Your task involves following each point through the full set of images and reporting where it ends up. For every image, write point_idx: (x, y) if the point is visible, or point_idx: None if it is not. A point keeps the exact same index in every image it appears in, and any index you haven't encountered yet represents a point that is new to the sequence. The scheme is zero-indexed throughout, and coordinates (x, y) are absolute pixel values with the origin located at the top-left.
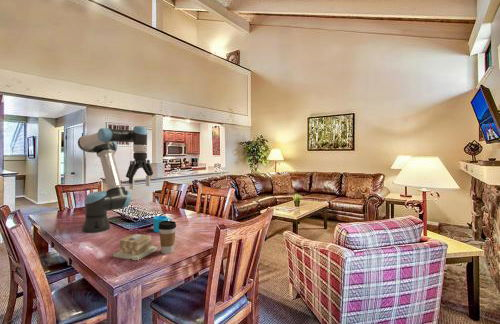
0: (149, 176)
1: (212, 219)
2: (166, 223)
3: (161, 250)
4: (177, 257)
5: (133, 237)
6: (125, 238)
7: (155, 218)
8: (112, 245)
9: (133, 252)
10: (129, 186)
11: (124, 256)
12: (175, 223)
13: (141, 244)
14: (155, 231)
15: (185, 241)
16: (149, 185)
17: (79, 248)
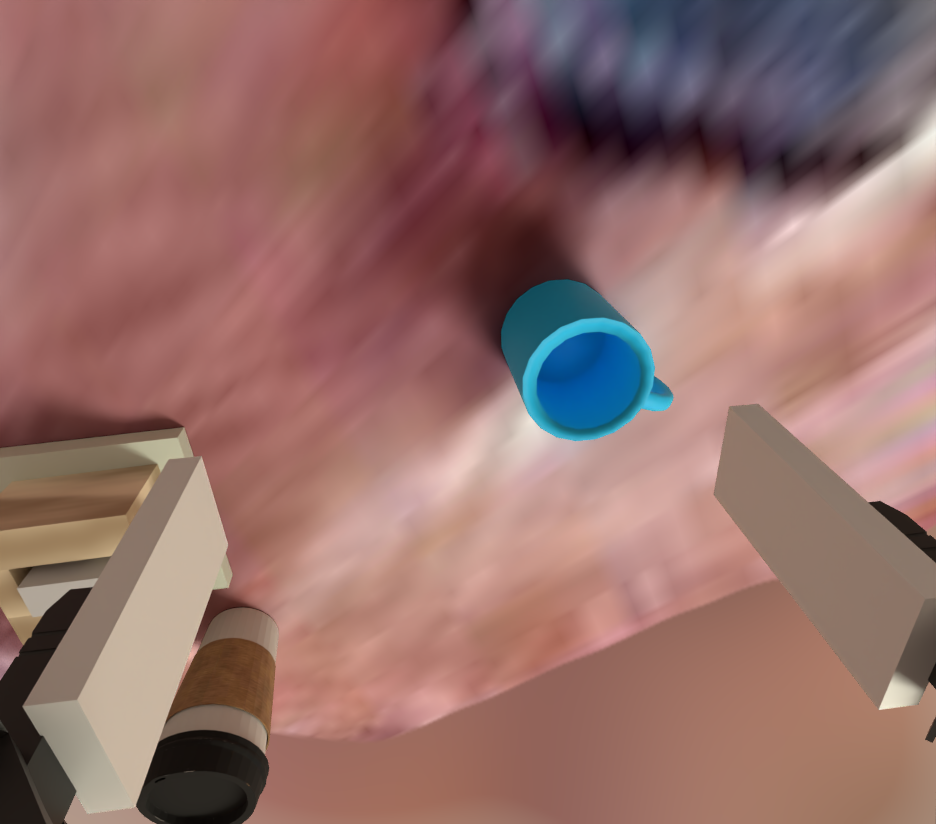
0: (866, 691)
1: (920, 506)
2: (205, 783)
3: (205, 634)
4: None
5: (33, 606)
6: (10, 540)
7: (540, 366)
8: (87, 268)
9: None
10: (146, 497)
11: None
12: (236, 822)
13: None
14: (501, 334)
15: (420, 616)
16: (725, 503)
17: None
